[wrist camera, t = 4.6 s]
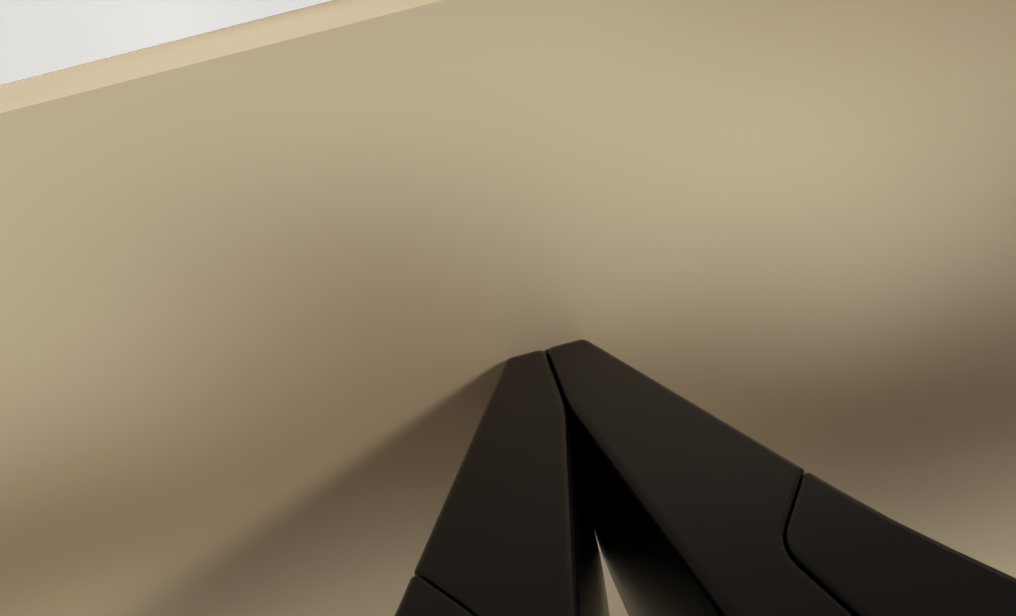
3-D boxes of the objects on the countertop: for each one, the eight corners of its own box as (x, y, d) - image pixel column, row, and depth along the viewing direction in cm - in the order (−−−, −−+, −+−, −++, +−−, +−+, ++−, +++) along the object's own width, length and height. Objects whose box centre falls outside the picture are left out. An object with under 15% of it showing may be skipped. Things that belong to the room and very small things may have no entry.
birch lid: (1121, 525, 13) (1161, 566, 13) (97, 796, 13) (85, 852, 13) (1384, -268, 7) (1483, -265, 7) (-502, 213, 7) (-586, 263, 7)
